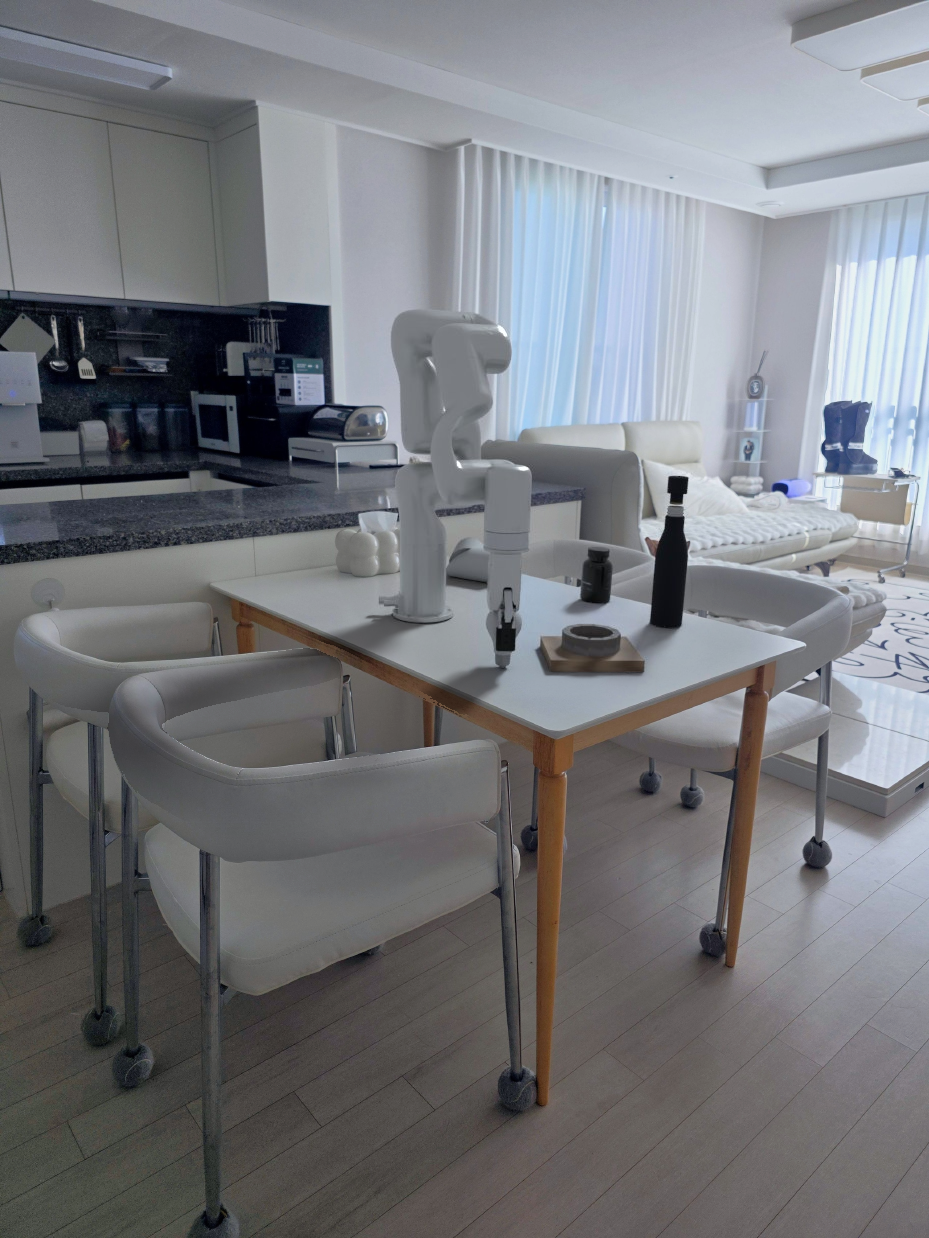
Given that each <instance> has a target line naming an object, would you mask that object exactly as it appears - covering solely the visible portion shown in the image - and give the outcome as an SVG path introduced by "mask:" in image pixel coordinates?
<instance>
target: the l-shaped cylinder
mask: <svg viewBox="0 0 929 1238" xmlns="http://www.w3.org/2000/svg"><path fill="white" fill-rule="evenodd" d="M483 547H484V542H482V541H481V540H479V539H478V538H476V537H465V538H462V539H460V541H458V542H457V543H456V545H455V547H454V549H453V551H452V553H451V555H450V557H449V559H448V564H447V565H446V576H449V577H452V578H458V579H459V578H460V579H465V580H470V581H477V582H483V583H487V581H488V560H489V552H487V551H485V550H484V549H483Z"/></svg>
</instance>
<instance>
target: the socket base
mask: <svg viewBox="0 0 929 1238" xmlns="http://www.w3.org/2000/svg"><path fill="white" fill-rule="evenodd" d="M561 630H562V631H561V633H562V634H561V635H560V636H559V635H555V636H554V635H540V640H539V641H540V642H539V648H540V650H541V652H542V654H543V656H544V657H543V658H544V659H545V662H546V665H547V666H548V669H549V672H563V673H564V672H567V673H568V672H571V673H574V672H575V673H576V672H577V673H578V672H589V673H590V672H591V673H592V672H594V673H595V672H598V673H601V672H602V673H605V672H607V673H610V672H611V673H612V672H614V673H619V672H621V673H629V672H630V673H638V672H639V673H644V672H645V664H646V663H645V662H646V661H645V659H644V657H643V656H642V655H641V654H640V652H639V651H638V650H637V648H636V647H635V646H634V644H632V642H631V641H630V640H629V639H628V637H627V636H622V635H621V632H620V631H619V629H617V628H614V627H611V626H609V625H602V624H598V623H597V624H595V623H577V624H570V625H566V626H565V627H564V628H562V629H561Z"/></svg>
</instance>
